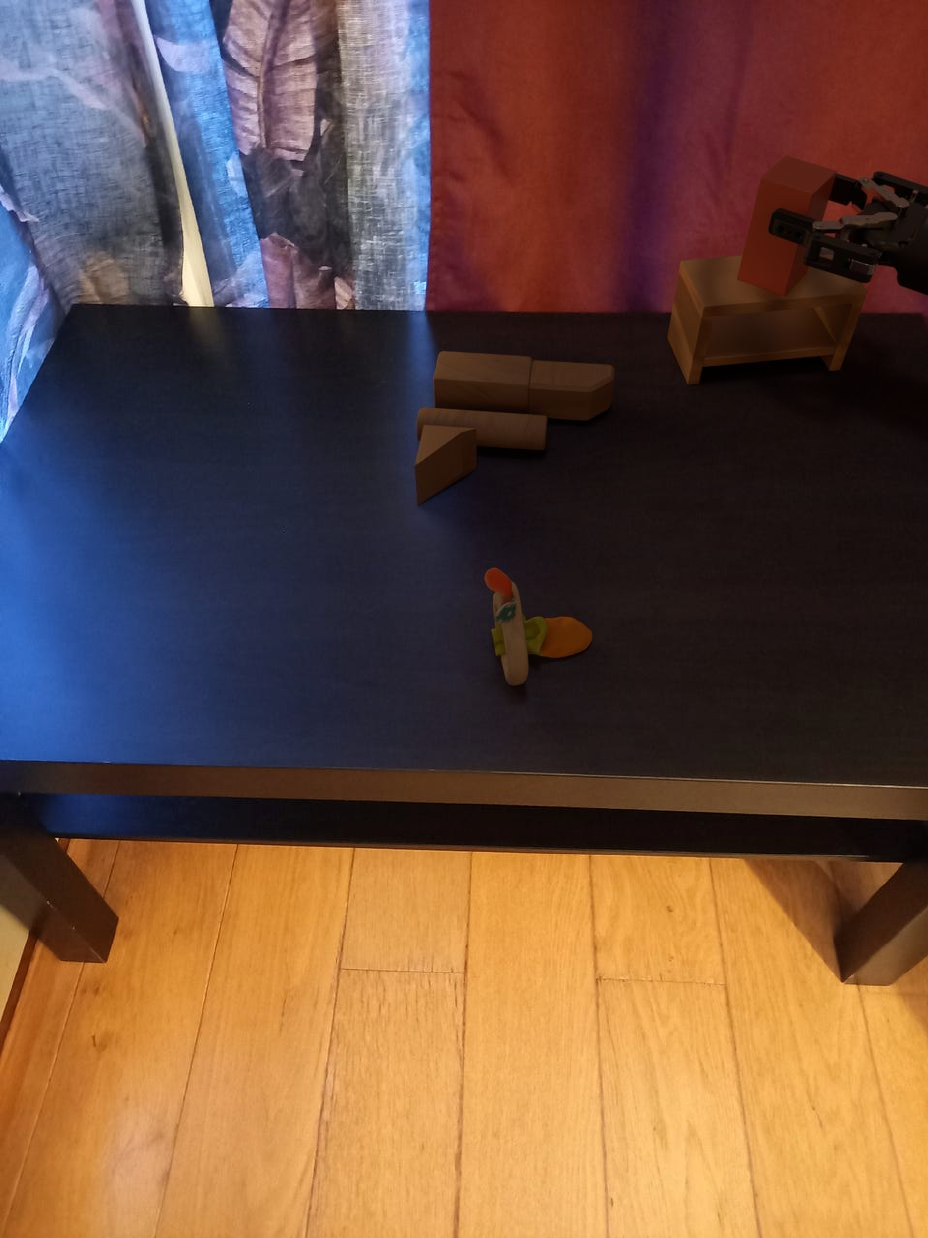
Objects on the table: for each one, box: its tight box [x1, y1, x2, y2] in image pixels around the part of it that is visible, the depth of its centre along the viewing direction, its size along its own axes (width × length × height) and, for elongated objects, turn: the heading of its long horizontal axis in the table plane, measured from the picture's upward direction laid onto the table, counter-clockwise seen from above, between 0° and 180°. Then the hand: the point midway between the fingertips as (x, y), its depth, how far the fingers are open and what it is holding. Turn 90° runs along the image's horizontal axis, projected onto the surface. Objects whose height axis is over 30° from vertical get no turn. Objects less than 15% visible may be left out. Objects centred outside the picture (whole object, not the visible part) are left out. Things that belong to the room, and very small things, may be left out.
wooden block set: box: [414, 350, 615, 506], centre depth 87 cm, size 17×6×18 cm
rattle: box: [484, 567, 593, 686], centre depth 70 cm, size 8×8×12 cm
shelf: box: [666, 254, 869, 386], centre depth 95 cm, size 16×8×9 cm, turn 97°
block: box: [737, 155, 838, 296], centre depth 87 cm, size 5×5×10 cm
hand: (793, 199), depth 85 cm, fingers open, 8 cm apart
